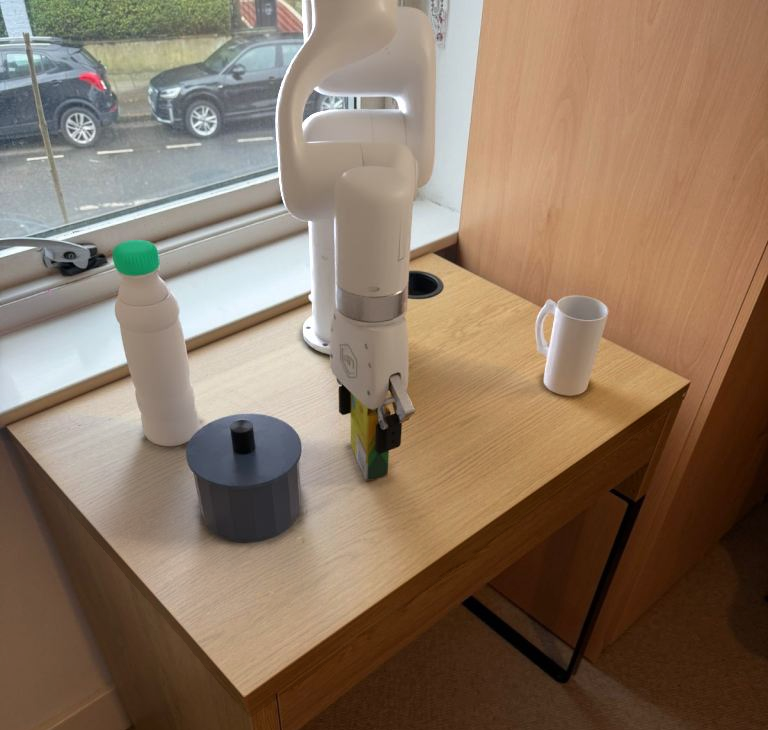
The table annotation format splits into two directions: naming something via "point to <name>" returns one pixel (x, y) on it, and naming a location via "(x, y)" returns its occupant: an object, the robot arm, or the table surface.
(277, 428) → the pot lid
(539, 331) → the mug
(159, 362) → the water bottle
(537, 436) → the table surface
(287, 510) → the pot
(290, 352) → the table surface
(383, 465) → the crayon box
